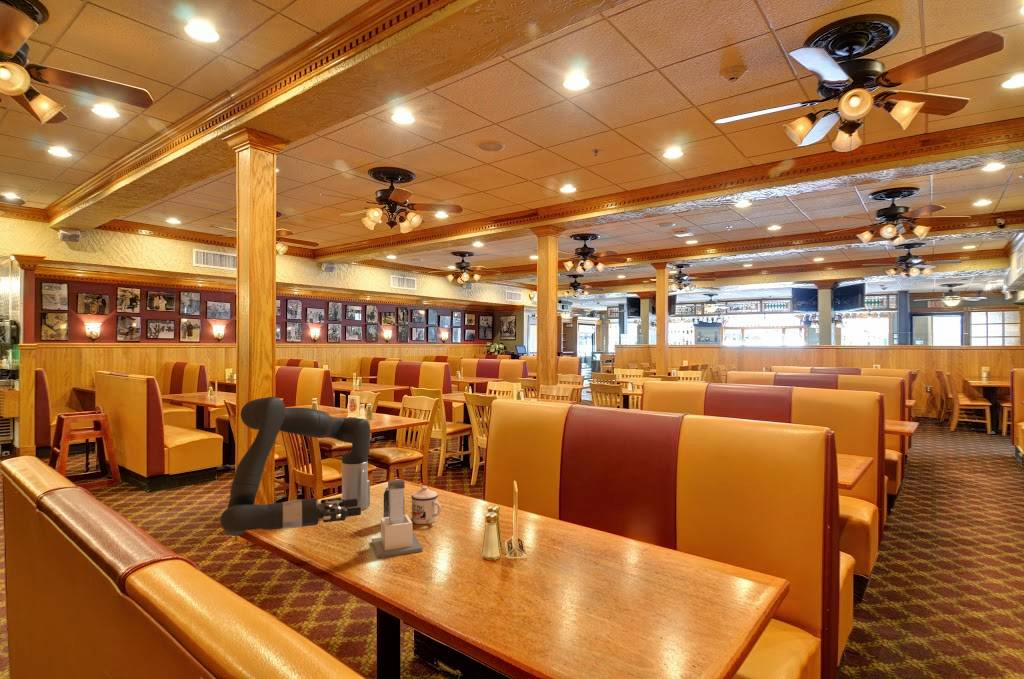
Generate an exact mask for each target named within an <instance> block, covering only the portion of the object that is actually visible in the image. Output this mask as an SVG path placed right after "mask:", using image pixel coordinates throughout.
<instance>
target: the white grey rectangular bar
mask: <svg viewBox="0 0 1024 679" xmlns="http://www.w3.org/2000/svg"><path fill="white" fill-rule="evenodd" d="M387 487H388V488H389V525H393V524H401V523H404V515H405V487H406V486H405V479H403V478H401V479H400V478H399V479H390V480H387Z"/></svg>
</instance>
